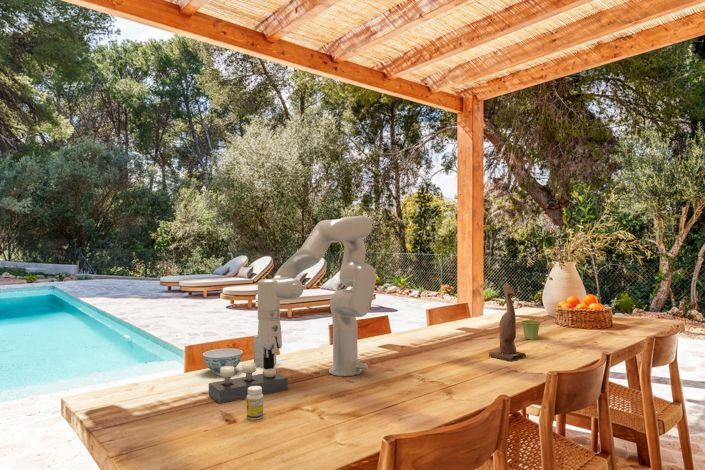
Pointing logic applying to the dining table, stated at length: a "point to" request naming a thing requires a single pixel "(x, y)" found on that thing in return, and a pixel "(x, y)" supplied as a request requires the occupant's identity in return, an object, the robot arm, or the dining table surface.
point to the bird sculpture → (507, 330)
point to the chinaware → (222, 358)
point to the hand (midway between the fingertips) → (268, 368)
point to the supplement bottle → (254, 403)
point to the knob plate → (246, 387)
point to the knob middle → (248, 370)
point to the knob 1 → (227, 374)
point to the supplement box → (259, 354)
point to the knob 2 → (269, 372)
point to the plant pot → (530, 329)
